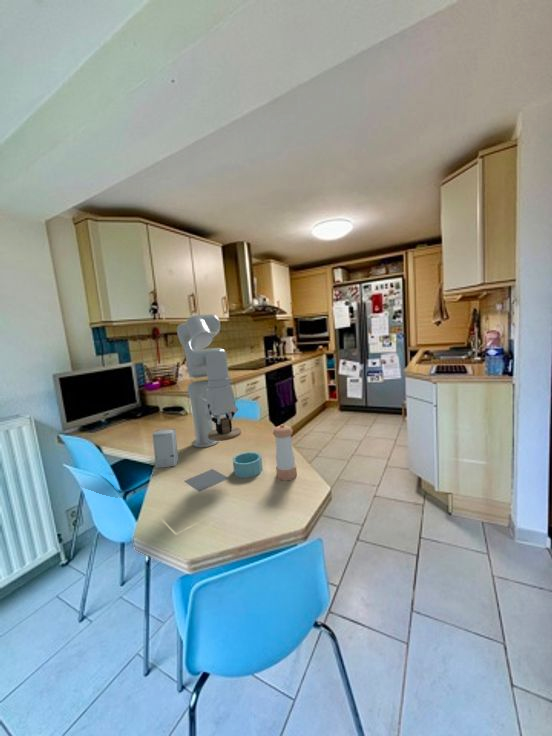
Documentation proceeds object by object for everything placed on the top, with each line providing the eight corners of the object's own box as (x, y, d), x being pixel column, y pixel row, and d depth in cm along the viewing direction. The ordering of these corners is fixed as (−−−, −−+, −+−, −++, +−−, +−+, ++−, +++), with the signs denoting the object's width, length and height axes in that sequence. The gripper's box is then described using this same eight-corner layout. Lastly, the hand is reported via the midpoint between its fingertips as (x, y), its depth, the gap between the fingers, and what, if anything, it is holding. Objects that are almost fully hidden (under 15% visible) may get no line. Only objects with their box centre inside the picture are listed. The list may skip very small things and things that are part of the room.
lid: (202, 436, 113) (200, 420, 113) (230, 427, 121) (228, 412, 120) (218, 443, 104) (216, 426, 103) (247, 433, 112) (245, 417, 111)
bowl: (228, 472, 117) (227, 459, 116) (250, 463, 124) (249, 450, 123) (245, 481, 109) (243, 466, 108) (268, 470, 116) (266, 456, 115)
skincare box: (155, 468, 127) (150, 434, 125) (160, 462, 133) (156, 429, 131) (176, 466, 127) (171, 432, 125) (180, 460, 133) (175, 427, 131)
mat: (184, 481, 113) (184, 480, 113) (212, 469, 121) (212, 469, 121) (199, 492, 104) (199, 491, 104) (229, 479, 112) (229, 478, 112)
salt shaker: (273, 474, 112) (268, 424, 110) (291, 469, 115) (287, 420, 113) (281, 482, 106) (276, 429, 103) (300, 476, 109) (295, 424, 106)
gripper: (232, 378, 118) (237, 424, 120) (193, 386, 108) (199, 436, 110) (243, 380, 112) (248, 428, 115) (203, 388, 102) (209, 441, 104)
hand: (224, 431), depth 112 cm, fingers closed on lid, 3 cm apart
